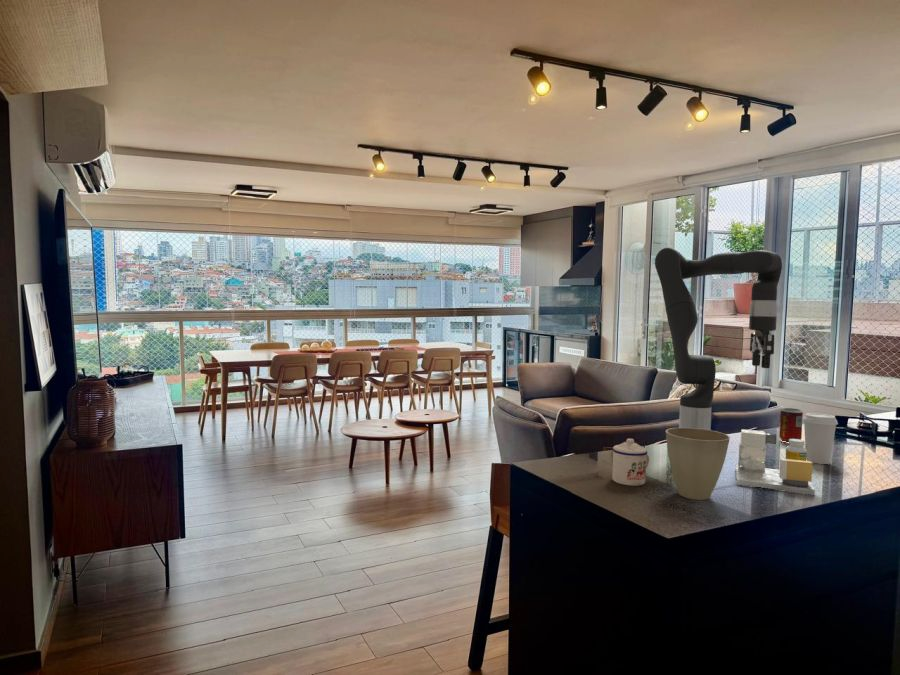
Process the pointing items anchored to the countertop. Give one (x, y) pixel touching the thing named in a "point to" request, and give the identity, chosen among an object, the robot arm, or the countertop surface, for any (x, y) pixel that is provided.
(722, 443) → the plant pot
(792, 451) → the supplement bottle
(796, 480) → the white-tipped yellow pillar
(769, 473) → the base
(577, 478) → the countertop surface
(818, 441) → the white tapered bin
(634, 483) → the teacup with lid
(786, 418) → the soda can
